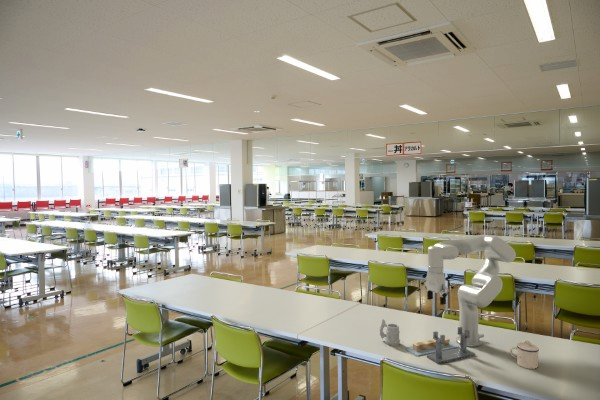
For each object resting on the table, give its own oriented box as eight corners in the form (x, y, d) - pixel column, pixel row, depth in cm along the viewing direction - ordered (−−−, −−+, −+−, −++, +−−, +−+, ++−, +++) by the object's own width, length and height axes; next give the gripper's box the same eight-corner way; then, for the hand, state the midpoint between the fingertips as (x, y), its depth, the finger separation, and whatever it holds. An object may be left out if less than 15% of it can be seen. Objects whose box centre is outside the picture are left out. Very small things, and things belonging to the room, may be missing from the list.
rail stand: (463, 349, 202) (463, 325, 201) (475, 355, 194) (475, 330, 194) (426, 357, 192) (427, 331, 192) (438, 364, 185) (438, 337, 185)
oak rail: (445, 342, 209) (445, 337, 209) (449, 344, 206) (449, 339, 206) (412, 349, 201) (412, 343, 201) (416, 351, 198) (416, 345, 198)
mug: (396, 347, 204) (396, 325, 204) (376, 341, 212) (376, 320, 212) (402, 343, 210) (402, 321, 210) (383, 337, 218) (383, 316, 218)
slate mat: (445, 340, 214) (445, 339, 214) (458, 347, 204) (458, 346, 204) (403, 348, 203) (403, 347, 203) (416, 356, 194) (416, 355, 194)
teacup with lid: (539, 364, 185) (539, 340, 185) (537, 371, 178) (538, 346, 177) (511, 357, 192) (511, 334, 192) (508, 364, 185) (508, 340, 184)
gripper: (419, 267, 208) (419, 298, 209) (441, 273, 192) (442, 307, 193) (430, 265, 211) (431, 296, 211) (453, 272, 195) (454, 305, 195)
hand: (436, 301), depth 202 cm, fingers open, 9 cm apart
